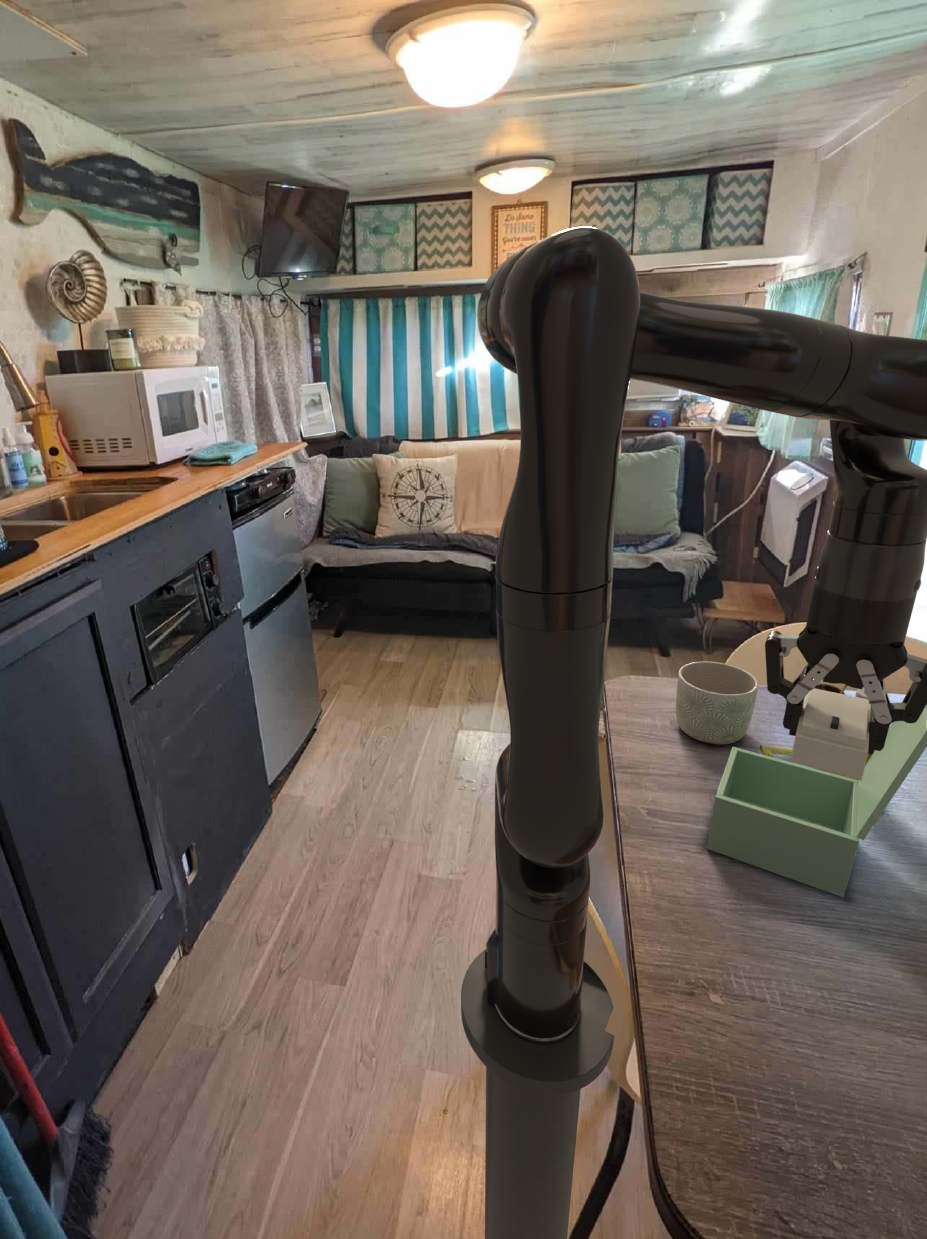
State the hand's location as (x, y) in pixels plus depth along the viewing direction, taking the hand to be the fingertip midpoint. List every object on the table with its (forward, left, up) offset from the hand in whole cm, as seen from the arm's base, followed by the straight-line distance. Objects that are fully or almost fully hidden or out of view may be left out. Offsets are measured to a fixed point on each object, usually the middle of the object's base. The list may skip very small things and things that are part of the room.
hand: (829, 740), depth 64 cm
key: (-1, +41, -28) cm, 50 cm away
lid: (+7, +18, -10) cm, 22 cm away
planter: (-15, +42, -28) cm, 53 cm away
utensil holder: (+1, +54, -28) cm, 61 cm away
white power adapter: (0, 0, 0) cm, 0 cm away
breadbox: (-2, +18, -28) cm, 33 cm away
